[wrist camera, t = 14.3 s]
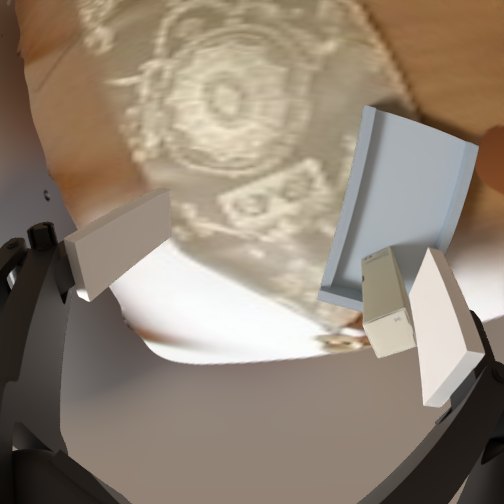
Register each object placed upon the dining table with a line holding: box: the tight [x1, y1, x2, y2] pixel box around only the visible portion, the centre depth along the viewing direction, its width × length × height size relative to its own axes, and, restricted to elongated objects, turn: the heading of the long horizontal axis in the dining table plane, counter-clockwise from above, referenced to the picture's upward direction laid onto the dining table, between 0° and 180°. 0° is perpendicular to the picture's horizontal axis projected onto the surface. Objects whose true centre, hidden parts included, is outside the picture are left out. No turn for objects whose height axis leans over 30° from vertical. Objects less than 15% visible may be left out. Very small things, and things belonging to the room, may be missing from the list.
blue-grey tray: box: [317, 105, 479, 317], centre depth 31 cm, size 24×14×5 cm, turn 172°
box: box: [361, 247, 417, 358], centre depth 28 cm, size 5×4×13 cm
